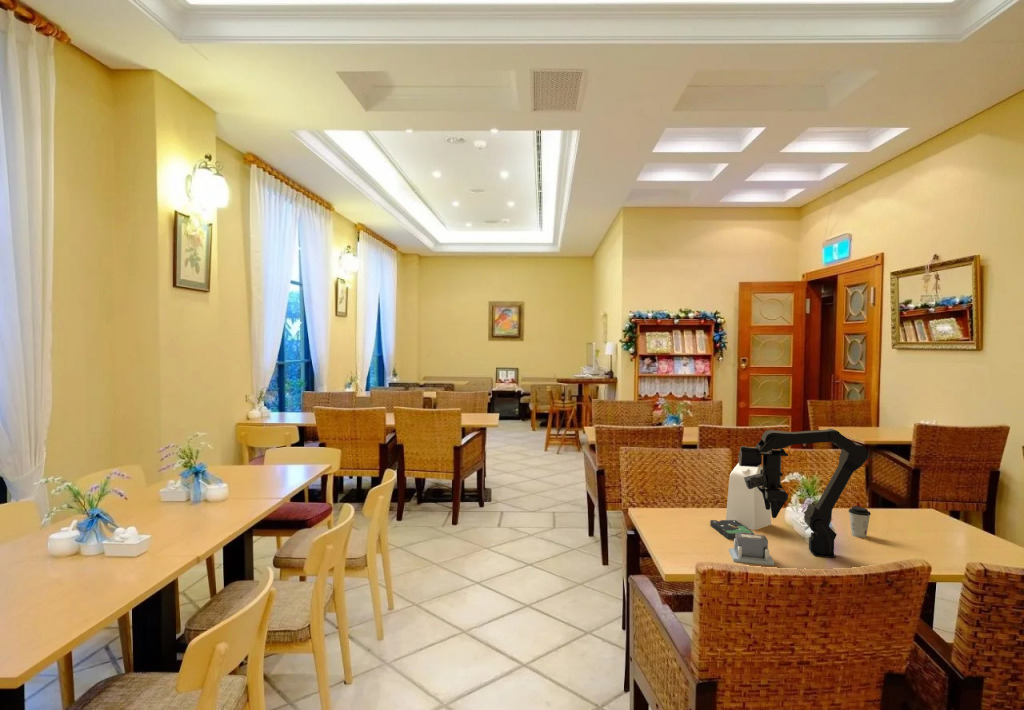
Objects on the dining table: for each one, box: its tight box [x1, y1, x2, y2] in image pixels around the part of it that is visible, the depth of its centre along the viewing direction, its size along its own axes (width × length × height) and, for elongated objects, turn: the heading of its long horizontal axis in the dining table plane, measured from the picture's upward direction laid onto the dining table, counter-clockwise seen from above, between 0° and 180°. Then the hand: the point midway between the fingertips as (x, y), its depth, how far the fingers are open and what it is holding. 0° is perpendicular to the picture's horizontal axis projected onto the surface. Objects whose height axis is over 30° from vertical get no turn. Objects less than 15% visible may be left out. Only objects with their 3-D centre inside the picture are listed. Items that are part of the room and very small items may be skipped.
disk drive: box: [709, 519, 756, 540], centre depth 199 cm, size 10×3×15 cm
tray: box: [728, 539, 775, 566], centre depth 174 cm, size 12×9×4 cm
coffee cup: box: [848, 505, 872, 538], centre depth 197 cm, size 7×7×10 cm
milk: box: [725, 462, 772, 531], centre depth 209 cm, size 12×12×26 cm
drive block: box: [735, 533, 769, 559], centre depth 174 cm, size 9×4×6 cm, turn 76°
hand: (770, 513), depth 182 cm, fingers open, 9 cm apart
